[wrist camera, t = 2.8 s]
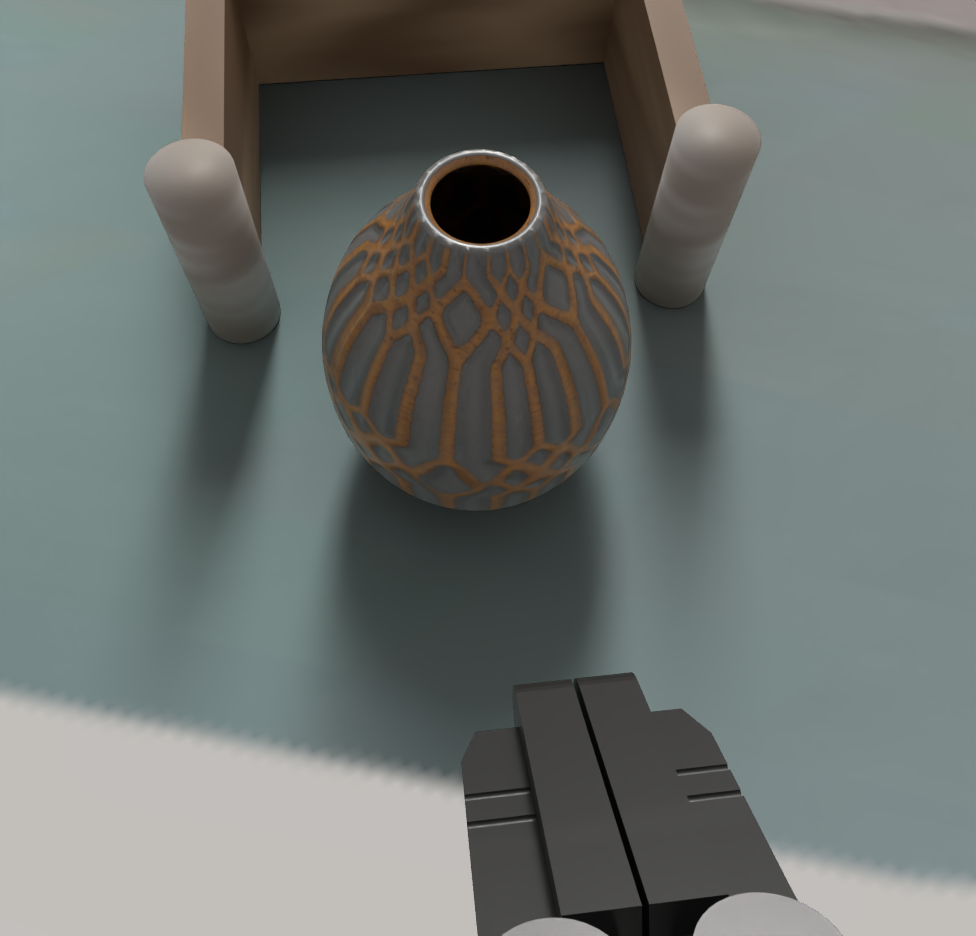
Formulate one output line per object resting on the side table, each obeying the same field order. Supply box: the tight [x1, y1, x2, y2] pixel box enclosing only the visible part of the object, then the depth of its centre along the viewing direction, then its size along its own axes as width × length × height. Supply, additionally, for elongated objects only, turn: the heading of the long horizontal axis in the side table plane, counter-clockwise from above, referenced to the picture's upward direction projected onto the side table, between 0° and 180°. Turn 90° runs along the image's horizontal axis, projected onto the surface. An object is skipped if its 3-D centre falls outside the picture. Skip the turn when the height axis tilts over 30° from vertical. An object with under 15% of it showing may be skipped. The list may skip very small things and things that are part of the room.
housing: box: [144, 0, 762, 344], centre depth 25 cm, size 14×10×6 cm
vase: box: [322, 149, 631, 511], centre depth 20 cm, size 7×7×9 cm
